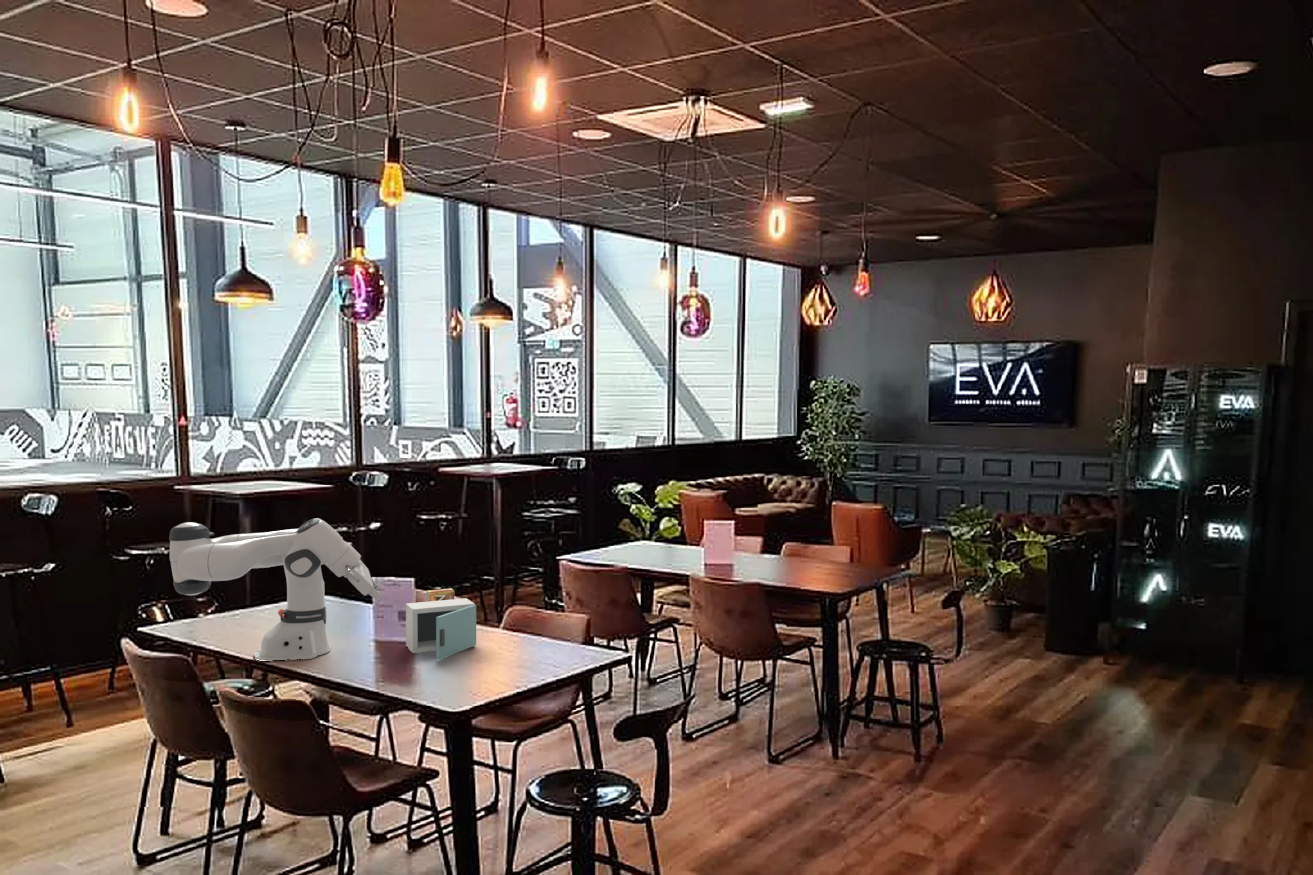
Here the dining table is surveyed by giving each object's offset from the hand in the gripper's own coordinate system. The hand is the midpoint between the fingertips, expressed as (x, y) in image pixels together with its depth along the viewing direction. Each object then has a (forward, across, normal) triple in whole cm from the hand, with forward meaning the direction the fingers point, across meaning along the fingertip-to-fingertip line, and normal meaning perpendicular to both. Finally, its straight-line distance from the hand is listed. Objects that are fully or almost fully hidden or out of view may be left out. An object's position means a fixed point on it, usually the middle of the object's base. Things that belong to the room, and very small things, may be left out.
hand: (378, 593), depth 279 cm
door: (+33, +4, -3) cm, 33 cm away
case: (+32, +16, +1) cm, 36 cm away
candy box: (+35, +32, 0) cm, 48 cm away
